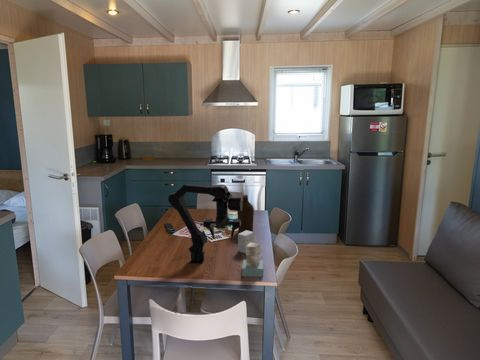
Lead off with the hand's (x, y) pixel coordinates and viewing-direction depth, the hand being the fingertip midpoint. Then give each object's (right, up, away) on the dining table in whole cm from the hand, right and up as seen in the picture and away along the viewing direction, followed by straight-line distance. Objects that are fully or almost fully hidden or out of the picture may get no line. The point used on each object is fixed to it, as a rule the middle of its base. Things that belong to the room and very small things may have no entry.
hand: (222, 239), depth 175 cm
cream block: (+15, -11, -9) cm, 21 cm away
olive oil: (+13, -4, +48) cm, 50 cm away
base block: (+15, -15, -8) cm, 23 cm away
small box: (+12, -10, +18) cm, 24 cm away
